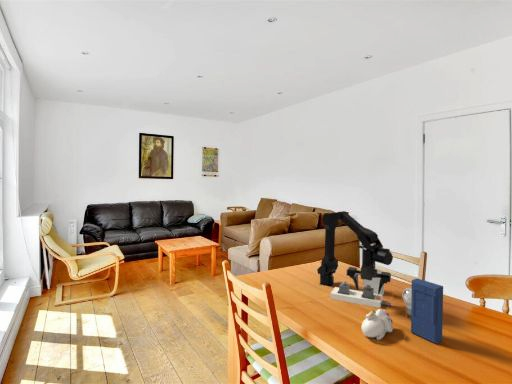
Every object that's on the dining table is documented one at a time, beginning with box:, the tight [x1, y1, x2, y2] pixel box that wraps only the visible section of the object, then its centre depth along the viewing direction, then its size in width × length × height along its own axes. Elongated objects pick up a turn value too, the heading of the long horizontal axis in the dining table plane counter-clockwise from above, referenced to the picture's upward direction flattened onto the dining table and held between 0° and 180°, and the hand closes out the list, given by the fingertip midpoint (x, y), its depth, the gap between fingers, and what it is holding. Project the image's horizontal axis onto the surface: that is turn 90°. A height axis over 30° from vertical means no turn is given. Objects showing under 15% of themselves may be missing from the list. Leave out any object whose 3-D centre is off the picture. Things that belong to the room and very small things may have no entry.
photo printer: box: [362, 268, 385, 296], centre depth 146 cm, size 10×4×12 cm, turn 39°
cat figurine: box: [361, 308, 393, 341], centre depth 108 cm, size 10×8×15 cm
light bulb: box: [401, 287, 412, 317], centre depth 121 cm, size 7×7×12 cm
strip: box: [330, 286, 392, 309], centre depth 136 cm, size 26×9×4 cm, turn 61°
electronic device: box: [410, 278, 444, 345], centre depth 105 cm, size 10×5×20 cm, turn 31°
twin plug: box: [338, 280, 351, 295], centre depth 139 cm, size 4×4×8 cm
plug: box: [362, 285, 375, 300], centre depth 134 cm, size 4×4×8 cm
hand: (368, 292), depth 134 cm, fingers open, 9 cm apart
